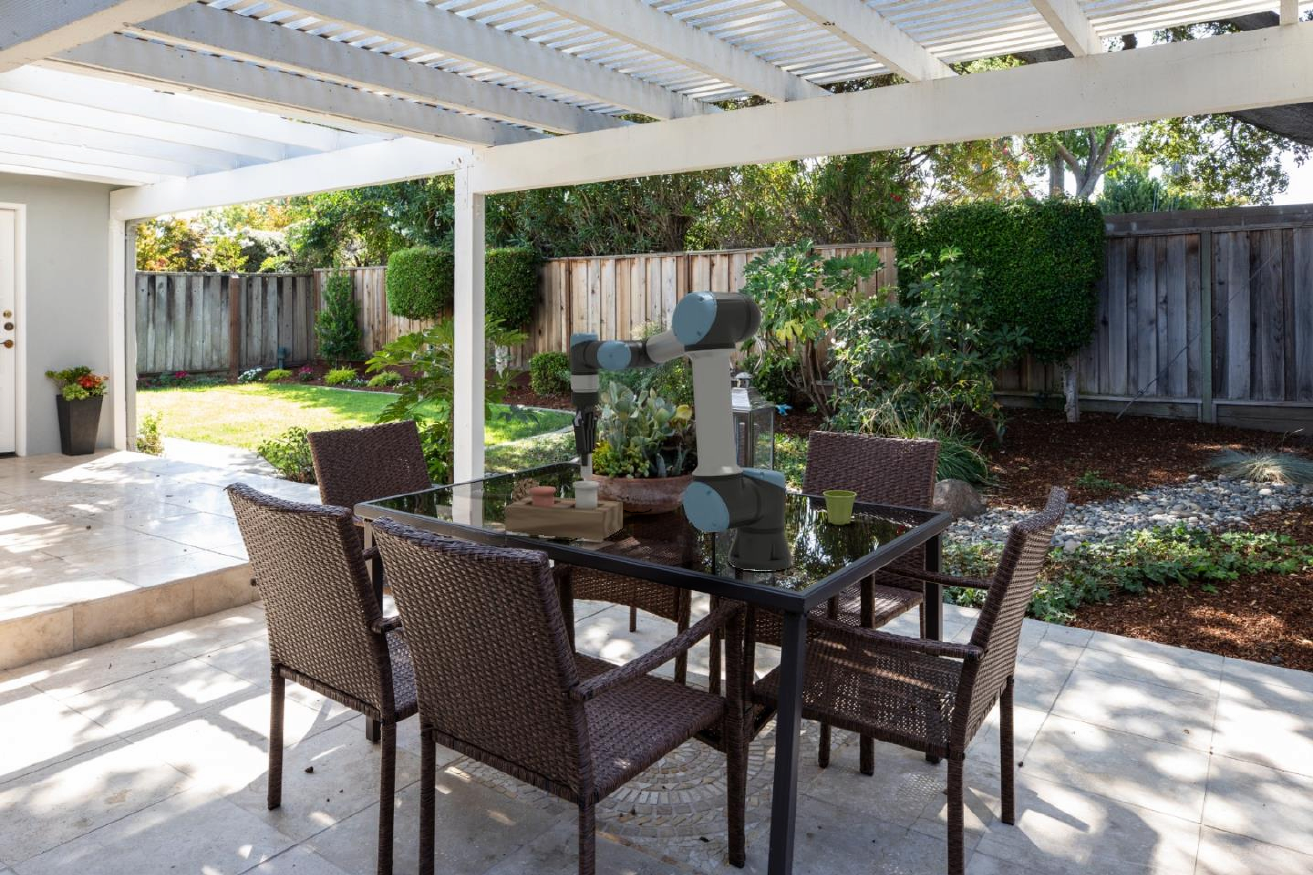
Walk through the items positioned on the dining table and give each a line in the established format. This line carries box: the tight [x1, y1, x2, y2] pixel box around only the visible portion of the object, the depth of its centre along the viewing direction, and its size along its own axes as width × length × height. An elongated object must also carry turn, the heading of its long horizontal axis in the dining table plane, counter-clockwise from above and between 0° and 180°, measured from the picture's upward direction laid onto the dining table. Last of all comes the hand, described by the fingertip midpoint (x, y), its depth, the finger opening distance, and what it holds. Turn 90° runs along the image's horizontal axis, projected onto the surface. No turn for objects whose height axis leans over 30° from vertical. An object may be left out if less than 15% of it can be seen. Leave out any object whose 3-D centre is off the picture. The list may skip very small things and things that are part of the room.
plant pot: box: [822, 489, 857, 526], centre depth 265 cm, size 9×9×9 cm
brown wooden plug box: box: [504, 496, 624, 540], centre depth 253 cm, size 16×28×8 cm, turn 71°
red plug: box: [530, 485, 557, 506], centre depth 255 cm, size 7×7×11 cm
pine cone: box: [511, 477, 541, 503], centre depth 278 cm, size 22×10×10 cm, turn 8°
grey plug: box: [572, 480, 600, 509], centre depth 251 cm, size 7×7×11 cm
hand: (586, 477), depth 250 cm, fingers closed
